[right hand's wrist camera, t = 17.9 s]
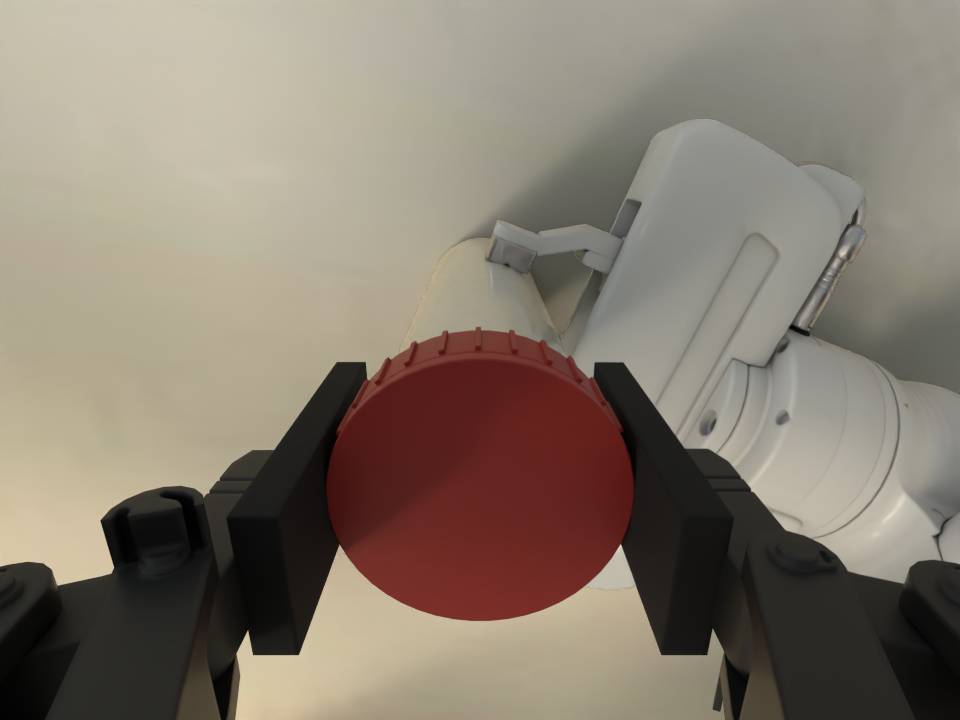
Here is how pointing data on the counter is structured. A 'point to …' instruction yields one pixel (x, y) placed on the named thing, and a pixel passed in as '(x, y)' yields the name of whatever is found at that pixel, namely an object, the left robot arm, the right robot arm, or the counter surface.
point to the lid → (480, 477)
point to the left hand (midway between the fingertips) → (461, 314)
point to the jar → (480, 299)
